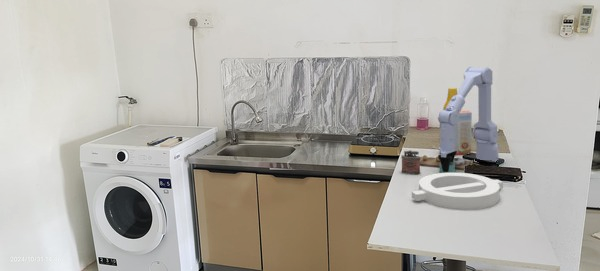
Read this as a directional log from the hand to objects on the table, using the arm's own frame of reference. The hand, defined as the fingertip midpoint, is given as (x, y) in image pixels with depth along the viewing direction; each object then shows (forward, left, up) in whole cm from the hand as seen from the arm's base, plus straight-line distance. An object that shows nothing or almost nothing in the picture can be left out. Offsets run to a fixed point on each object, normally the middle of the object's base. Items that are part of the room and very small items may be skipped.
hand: (447, 169), depth 197 cm
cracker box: (+4, -32, -2) cm, 32 cm away
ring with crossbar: (-10, +26, -2) cm, 28 cm away
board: (+5, -12, -1) cm, 13 cm away
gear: (0, 0, -1) cm, 1 cm away
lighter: (+14, +6, -2) cm, 15 cm away
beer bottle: (+11, -56, -2) cm, 57 cm away
